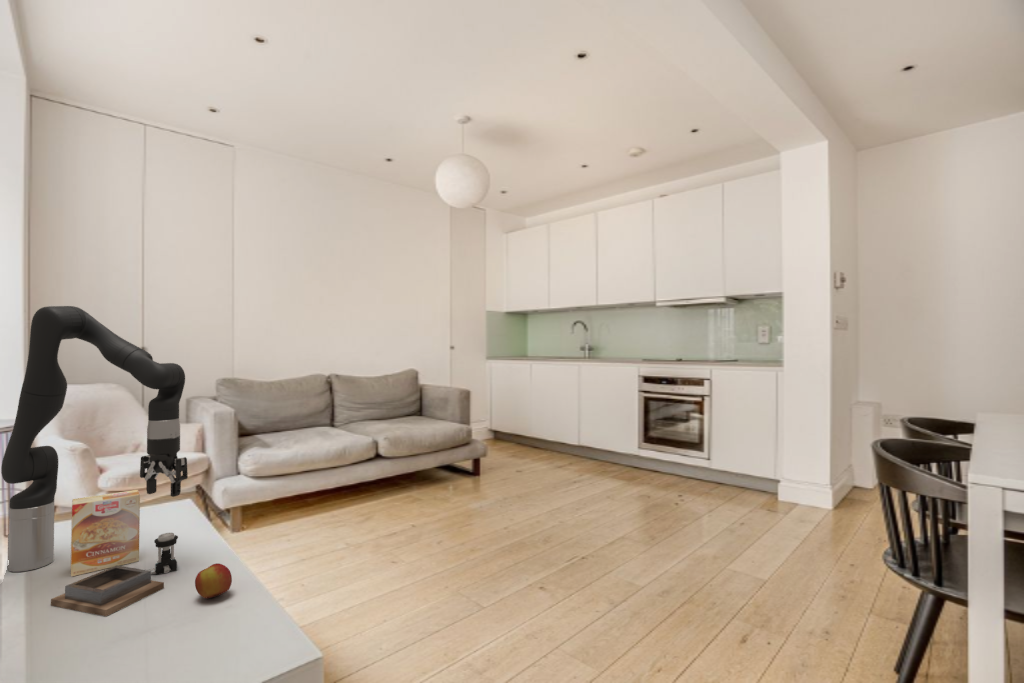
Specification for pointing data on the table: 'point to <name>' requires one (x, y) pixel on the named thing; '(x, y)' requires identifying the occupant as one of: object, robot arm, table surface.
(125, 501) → the coffeecake box
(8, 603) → the table surface
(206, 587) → the apple
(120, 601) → the mounting board
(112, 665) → the table surface
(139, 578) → the socket
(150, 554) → the table surface
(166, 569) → the push button
